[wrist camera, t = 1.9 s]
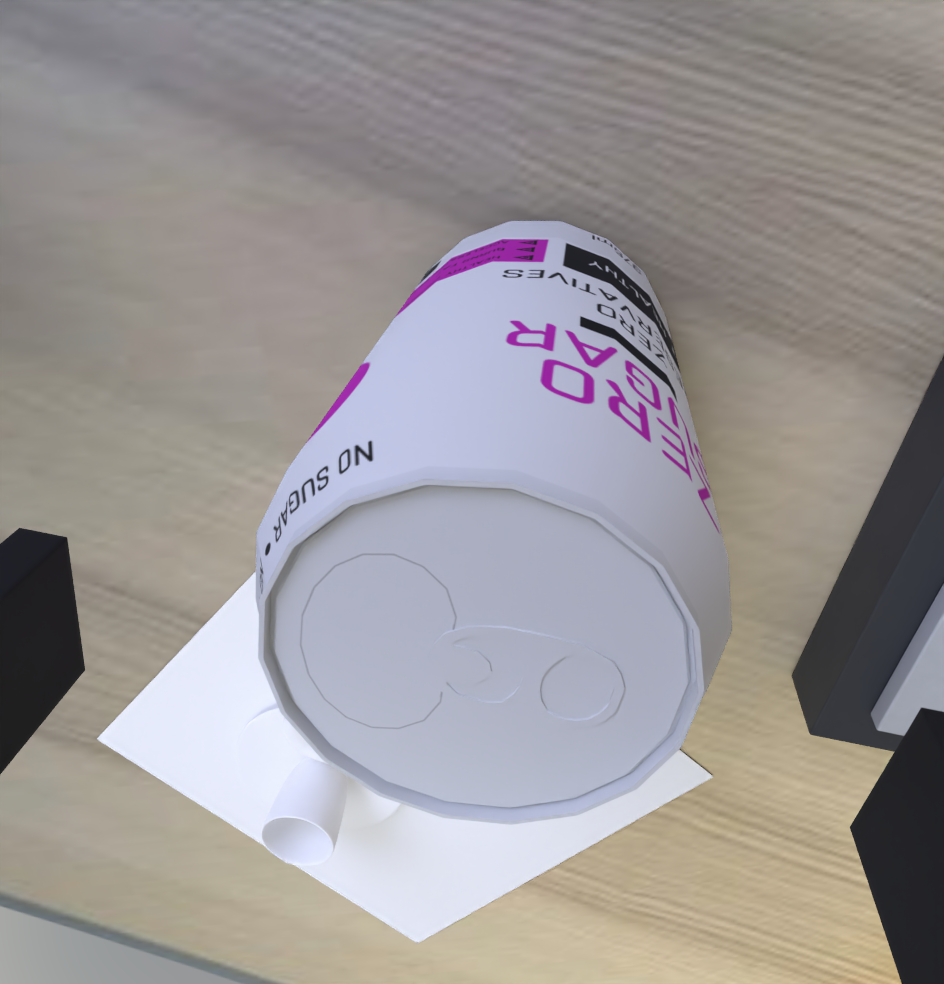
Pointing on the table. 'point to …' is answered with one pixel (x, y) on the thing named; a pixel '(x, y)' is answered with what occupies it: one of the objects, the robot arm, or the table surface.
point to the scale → (886, 604)
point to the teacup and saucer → (340, 791)
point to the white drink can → (501, 542)
